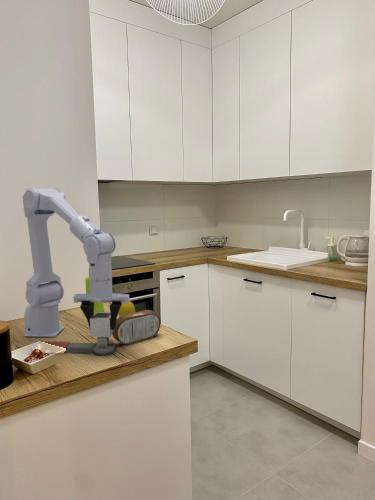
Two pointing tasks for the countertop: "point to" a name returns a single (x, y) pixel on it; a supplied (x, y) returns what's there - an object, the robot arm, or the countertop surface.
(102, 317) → the socket
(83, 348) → the ratchet
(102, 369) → the countertop surface
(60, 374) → the countertop surface
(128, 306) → the lemon
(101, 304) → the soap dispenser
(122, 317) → the tin
